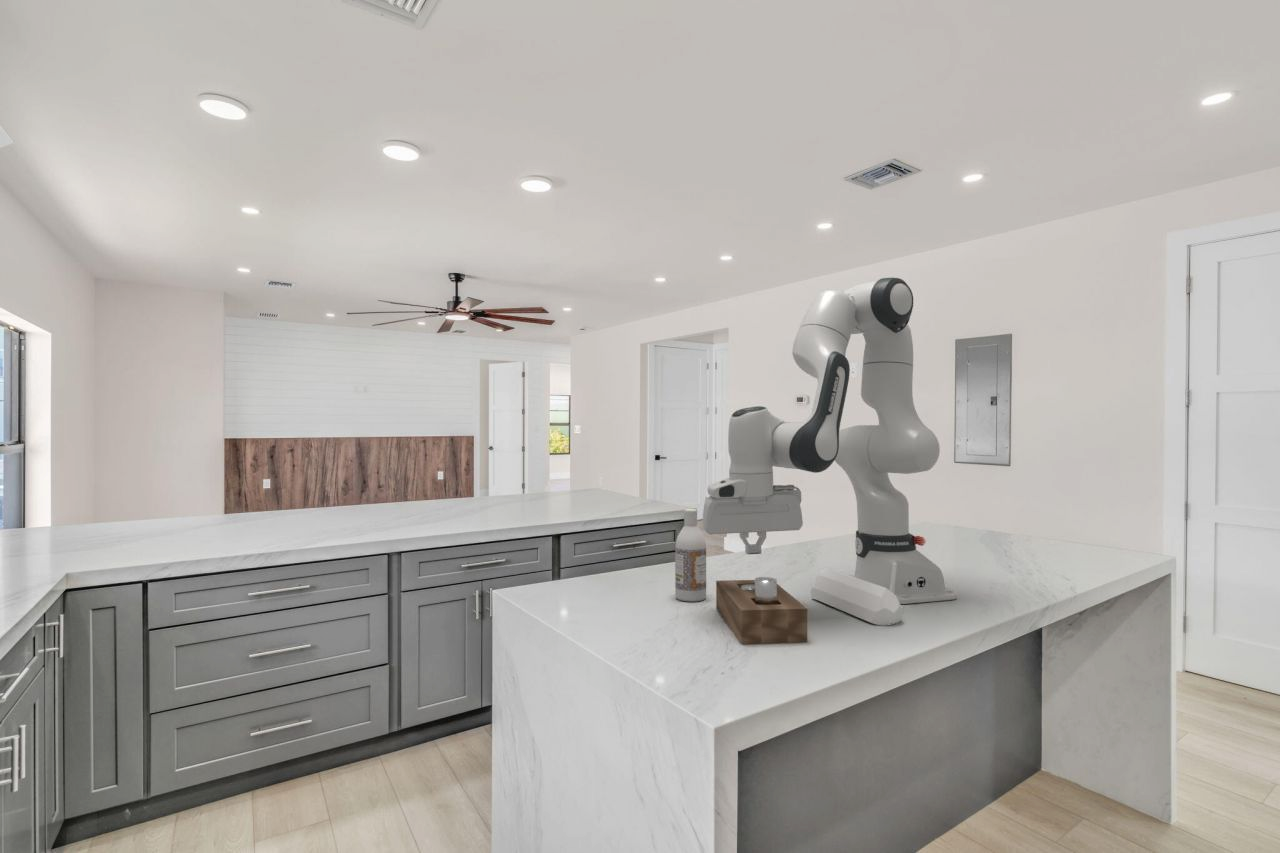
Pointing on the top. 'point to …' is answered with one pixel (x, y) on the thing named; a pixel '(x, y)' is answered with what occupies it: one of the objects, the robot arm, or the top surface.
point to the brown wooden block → (760, 615)
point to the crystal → (857, 597)
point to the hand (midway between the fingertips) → (753, 553)
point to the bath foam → (690, 560)
